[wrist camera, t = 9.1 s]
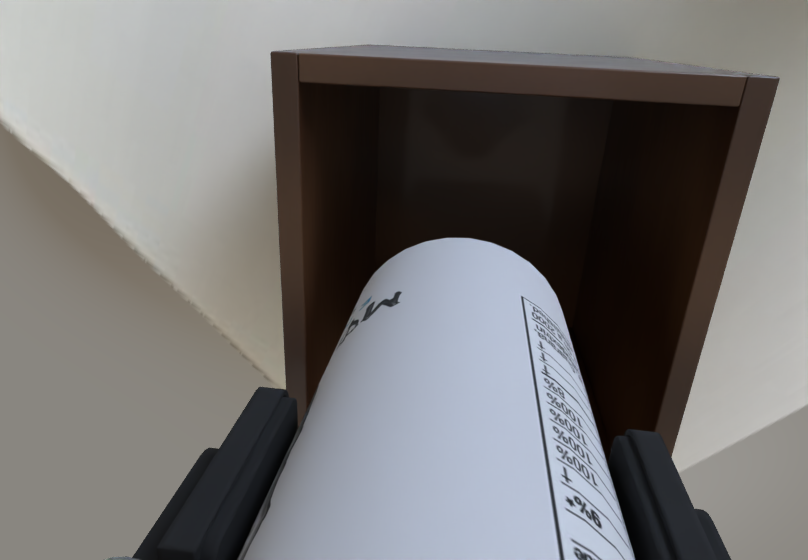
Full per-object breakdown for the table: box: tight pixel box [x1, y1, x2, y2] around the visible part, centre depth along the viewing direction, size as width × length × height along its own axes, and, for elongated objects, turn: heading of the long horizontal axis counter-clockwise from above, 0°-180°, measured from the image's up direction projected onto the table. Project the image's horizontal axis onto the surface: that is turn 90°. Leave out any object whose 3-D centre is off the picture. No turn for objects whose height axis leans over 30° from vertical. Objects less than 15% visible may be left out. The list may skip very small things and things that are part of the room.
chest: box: [271, 45, 780, 464], centre depth 29 cm, size 18×15×17 cm
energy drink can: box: [237, 238, 635, 560], centre depth 10 cm, size 6×6×15 cm
